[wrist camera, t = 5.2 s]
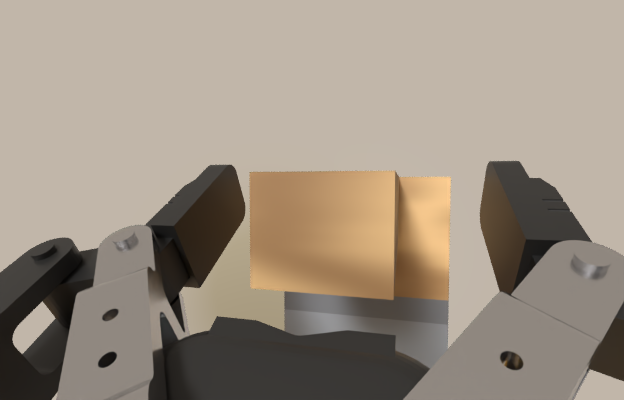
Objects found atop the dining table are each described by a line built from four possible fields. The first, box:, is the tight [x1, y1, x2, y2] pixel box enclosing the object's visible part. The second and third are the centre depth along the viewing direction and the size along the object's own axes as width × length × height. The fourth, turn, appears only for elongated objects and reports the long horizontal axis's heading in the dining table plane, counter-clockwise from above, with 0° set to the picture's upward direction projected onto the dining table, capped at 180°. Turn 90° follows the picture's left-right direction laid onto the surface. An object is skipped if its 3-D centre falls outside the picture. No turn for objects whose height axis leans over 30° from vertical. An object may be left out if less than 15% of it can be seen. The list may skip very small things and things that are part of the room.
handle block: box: [250, 171, 451, 301], centre depth 14 cm, size 7×15×5 cm, turn 165°
